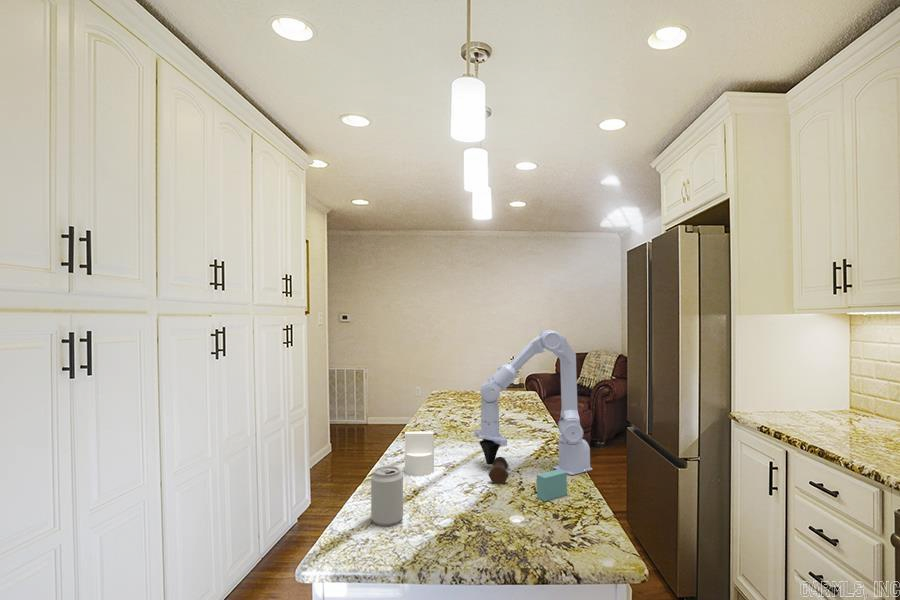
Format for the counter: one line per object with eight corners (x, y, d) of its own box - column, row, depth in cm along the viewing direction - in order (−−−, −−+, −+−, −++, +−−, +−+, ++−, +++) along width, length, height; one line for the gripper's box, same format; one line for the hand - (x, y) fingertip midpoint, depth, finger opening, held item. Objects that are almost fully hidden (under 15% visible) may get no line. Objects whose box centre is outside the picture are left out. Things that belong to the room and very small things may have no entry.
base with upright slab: (434, 466, 149) (433, 428, 150) (433, 476, 140) (433, 436, 141) (405, 466, 149) (405, 429, 150) (403, 476, 140) (403, 436, 141)
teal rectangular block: (550, 487, 130) (550, 466, 130) (566, 494, 125) (566, 472, 125) (529, 494, 126) (529, 471, 126) (545, 501, 121) (544, 478, 121)
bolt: (503, 473, 148) (501, 489, 133) (489, 464, 149) (485, 479, 134) (512, 457, 148) (511, 471, 133) (498, 449, 149) (495, 462, 134)
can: (389, 530, 105) (389, 476, 106) (364, 522, 109) (364, 471, 110) (409, 517, 112) (409, 467, 112) (385, 511, 116) (385, 462, 116)
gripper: (466, 417, 152) (466, 460, 151) (494, 426, 139) (494, 472, 139) (484, 415, 155) (484, 456, 155) (512, 423, 143) (512, 468, 143)
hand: (490, 463), depth 147 cm, fingers closed
